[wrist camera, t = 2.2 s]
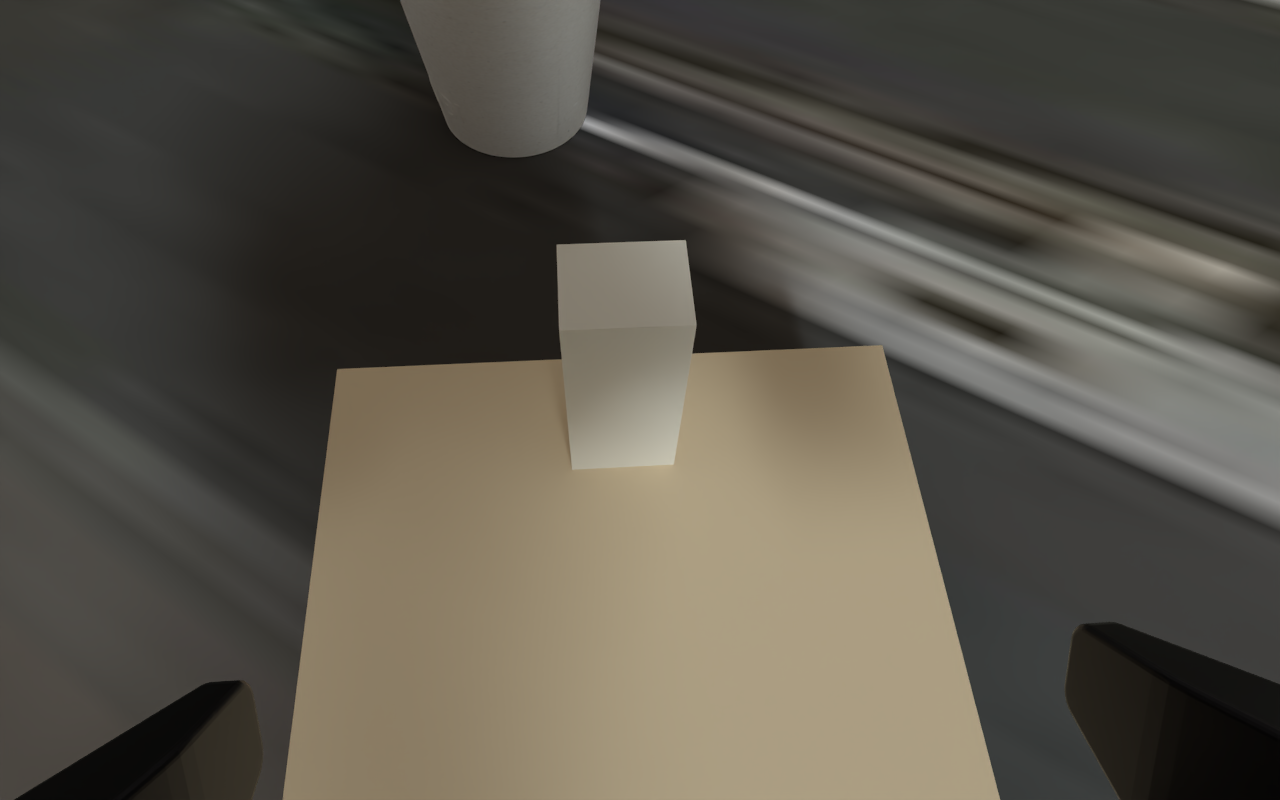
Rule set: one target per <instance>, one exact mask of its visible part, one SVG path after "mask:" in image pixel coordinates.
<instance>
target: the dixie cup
mask: <svg viewBox="0 0 1280 800" xmlns="http://www.w3.org/2000/svg"><path fill="white" fill-rule="evenodd" d="M400 2H401V4H402V7H403V10H404V12H405V15H406V17H407V20H408V23H409V25H410V28H411V31H412V33H413V36H414V39H415V41H416V44H417V46H418V49H419V52H420V54H421V57H422V60H423V62H424V65H425V68H426V70H427V73H428V75H429V80H430V83H431V85H432V88H433V91H434V93H435V96H436V98H437V101H438V102H439V104H440V107H441V110H442V112H443V115H444V118H445V120H446V123H447V125H448V127H449V129H450V130H451V132H452V133H453V134H454V135H455V136H456V137H457V138H458V139H459V140H460V141H461V142H462V143H464V144H465V145H467V146H469V147H470V148H472V149H474V150H477V151H479V152H482V153H485V154H489V155H493V156H499V157H527V156H533V155H538V154H542V153H545V152H548V151H550V150H553V149H555V148H557V147H559V146H560V145H562V144H564V143H565V142H567V141H568V140H569V139H570V138H572V137H573V136H574V135H575V134H576V133H577V131H578V130H579V129H580V127H581V126H582V124H583V122H584V120H585V117H586V113H587V106H588V98H589V89H590V81H591V73H592V65H593V57H594V49H595V41H596V32H597V24H598V16H599V8H600V0H400Z"/></svg>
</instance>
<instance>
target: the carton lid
mask: <svg viewBox="0 0 1280 800" xmlns="http://www.w3.org/2000/svg"><path fill="white" fill-rule="evenodd" d="M557 277H558V310H559V335H560V346H561V357H562V359H557V360H534V361H511V362H488V363H465V364H442V365H419V366H396V367H373V368H351V369H337V375H336V383H335V391H334V399H333V407H332V414H331V422H330V430H329V438H328V446H327V454H326V462H325V470H324V477H323V485H322V493H321V501H320V509H319V517H318V525H317V533H316V540H315V548H314V556H313V564H312V572H311V580H310V588H309V596H308V604H307V611H306V619H305V627H304V635H303V643H302V651H301V659H300V667H299V674H298V682H297V690H296V698H295V706H294V714H293V722H292V730H291V738H290V745H289V753H288V761H287V769H286V777H285V785H284V793H283V800H1000V798H999V794H998V790H997V786H996V782H995V778H994V774H993V771H992V767H991V763H990V759H989V755H988V751H987V748H986V744H985V740H984V736H983V732H982V728H981V724H980V721H979V717H978V713H977V709H976V705H975V701H974V697H973V694H972V690H971V686H970V682H969V678H968V674H967V671H966V667H965V663H964V659H963V655H962V651H961V647H960V644H959V640H958V636H957V632H956V628H955V624H954V620H953V617H952V613H951V609H950V605H949V601H948V597H947V593H946V590H945V586H944V582H943V578H942V574H941V570H940V567H939V563H938V559H937V555H936V551H935V547H934V543H933V540H932V536H931V532H930V528H929V524H928V520H927V516H926V513H925V509H924V505H923V501H922V497H921V493H920V490H919V486H918V482H917V478H916V474H915V470H914V466H913V463H912V459H911V455H910V451H909V447H908V443H907V439H906V436H905V432H904V428H903V424H902V420H901V416H900V413H899V409H898V405H897V401H896V397H895V393H894V389H893V386H892V382H891V378H890V374H889V370H888V366H887V362H886V359H885V355H884V351H883V347H882V345H878V346H855V347H832V348H809V349H786V350H763V351H741V352H718V353H695V354H692V351H693V345H694V338H695V332H696V326H697V323H696V316H695V308H694V300H693V293H692V285H691V277H690V269H689V262H688V254H687V246H686V240H674V241H645V242H616V243H587V244H558V245H557Z"/></svg>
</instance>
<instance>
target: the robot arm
mask: <svg viewBox="0 0 1280 800" xmlns="http://www.w3.org/2000/svg"><path fill="white" fill-rule="evenodd" d="M1065 697H1066V702H1067V705H1068V708H1069V710H1070V712H1071V714H1072V716H1073V718H1074V720H1075V721H1076V723H1077V725H1078V727H1079V728H1080V730H1081V732H1082V734H1083V736H1084V737H1085V739H1086V741H1087V743H1088V745H1089V746H1090V748H1091V750H1092V752H1093V753H1094V755H1095V757H1096V759H1097V761H1098V762H1099V764H1100V766H1101V768H1102V770H1103V771H1104V773H1105V775H1106V777H1107V778H1108V780H1109V782H1110V784H1111V786H1112V787H1113V789H1114V791H1115V793H1116V794H1117V796H1118V798H1119V800H1280V684H1278V683H1275V682H1273V681H1270V680H1267V679H1265V678H1262V677H1259V676H1257V675H1254V674H1251V673H1249V672H1246V671H1244V670H1241V669H1238V668H1236V667H1233V666H1230V665H1228V664H1225V663H1222V662H1220V661H1217V660H1214V659H1212V658H1209V657H1207V656H1204V655H1201V654H1199V653H1196V652H1193V651H1191V650H1188V649H1185V648H1183V647H1180V646H1178V645H1175V644H1172V643H1170V642H1167V641H1164V640H1162V639H1159V638H1156V637H1154V636H1151V635H1148V634H1146V633H1143V632H1141V631H1138V630H1135V629H1133V628H1130V627H1127V626H1125V625H1122V624H1119V623H1115V622H1102V623H1088V624H1081V625H1079V626H1078V627H1077V628H1076V629H1075V630H1074V632H1073V634H1072V638H1071V645H1070V652H1069V659H1068V666H1067V673H1066V680H1065ZM262 762H263V745H262V739H261V733H260V728H259V723H258V717H257V712H256V707H255V701H254V696H253V692H252V689H251V687H250V685H249V684H248V683H246V682H245V681H242V680H237V681H222V682H209V683H205V684H203V685H201V686H200V687H198V688H196V689H195V690H193V691H191V692H190V693H188V694H186V695H185V696H183V697H182V698H180V699H178V700H177V701H175V702H173V703H172V704H170V705H168V706H167V707H165V708H164V709H162V710H160V711H159V712H157V713H155V714H154V715H152V716H150V717H149V718H147V719H146V720H144V721H142V722H141V723H139V724H137V725H136V726H134V727H132V728H131V729H129V730H128V731H126V732H124V733H123V734H121V735H119V736H118V737H116V738H114V739H113V740H111V741H110V742H108V743H106V744H105V745H103V746H101V747H100V748H98V749H96V750H95V751H93V752H92V753H90V754H88V755H87V756H85V757H83V758H82V759H80V760H78V761H77V762H75V763H74V764H72V765H70V766H69V767H67V768H65V769H64V770H62V771H60V772H59V773H57V774H56V775H54V776H52V777H51V778H49V779H47V780H46V781H44V782H42V783H41V784H39V785H38V786H36V787H34V788H33V789H31V790H29V791H28V792H26V793H24V794H23V795H21V796H20V797H18V798H16V799H15V800H252V798H253V795H254V791H255V788H256V785H257V782H258V778H259V775H260V772H261V767H262Z"/></svg>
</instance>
